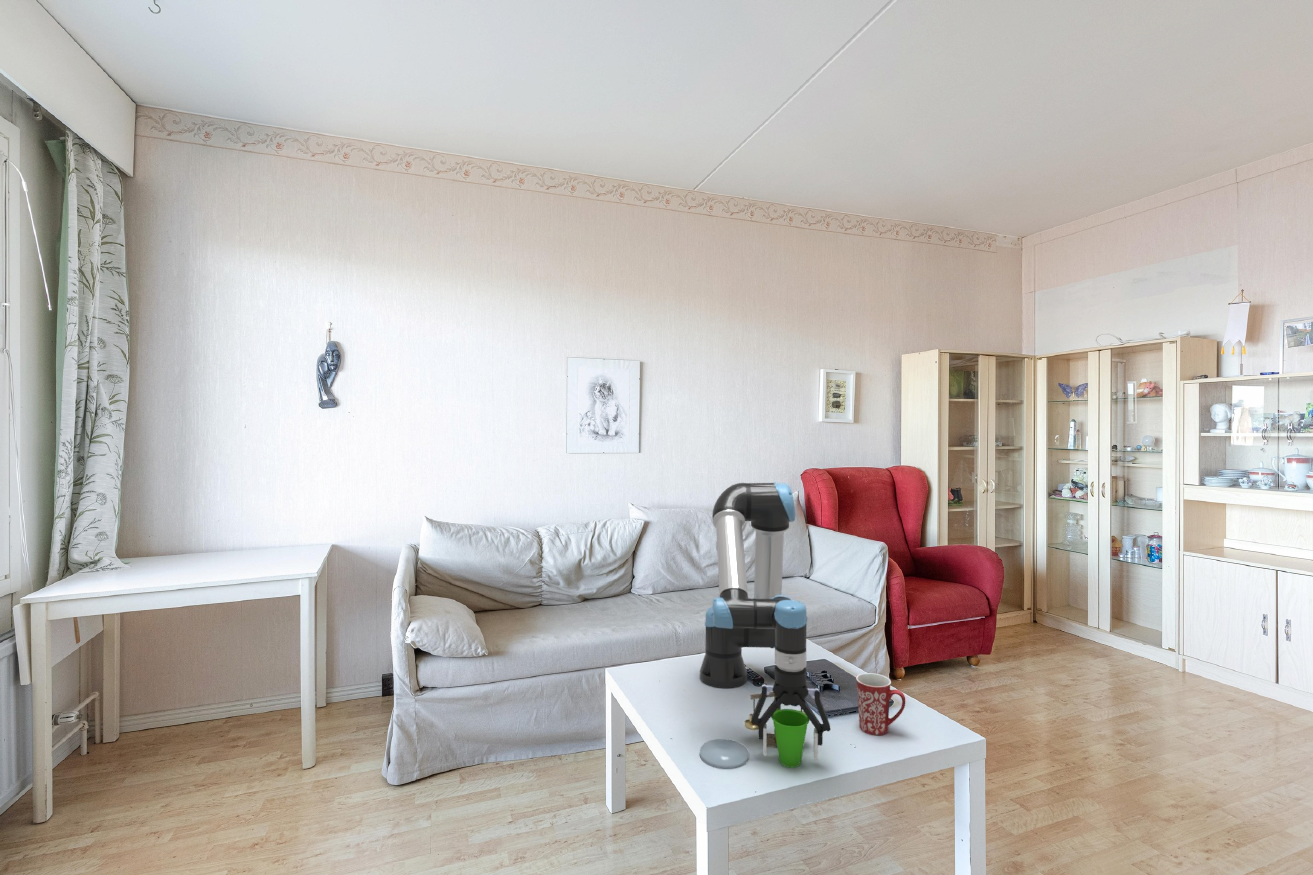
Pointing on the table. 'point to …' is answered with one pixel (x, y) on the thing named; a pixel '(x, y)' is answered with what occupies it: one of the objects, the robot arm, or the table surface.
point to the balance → (770, 737)
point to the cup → (790, 735)
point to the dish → (724, 753)
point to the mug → (875, 703)
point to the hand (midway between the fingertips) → (790, 754)
